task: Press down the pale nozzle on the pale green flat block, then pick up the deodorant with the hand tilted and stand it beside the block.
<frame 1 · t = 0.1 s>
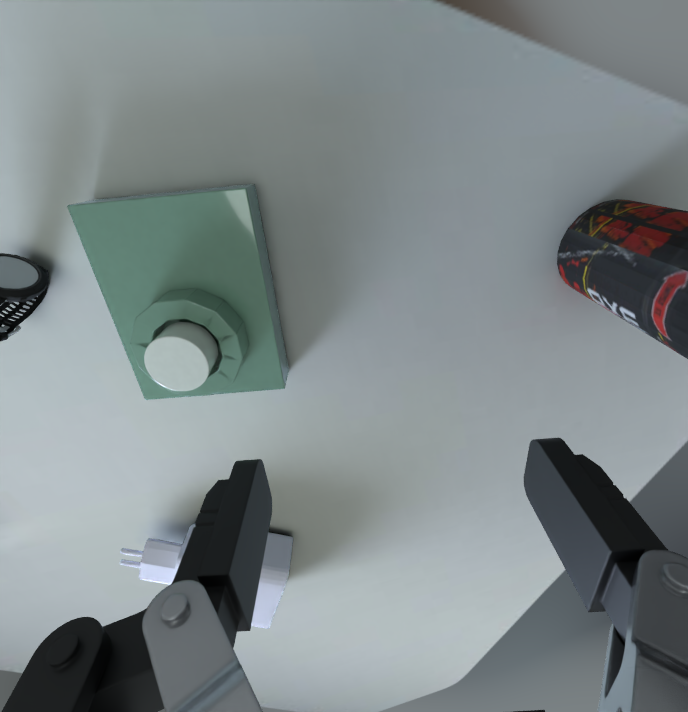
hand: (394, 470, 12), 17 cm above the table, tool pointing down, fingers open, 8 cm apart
smartwatch: (32, 279, 26), on the table
deodorant: (602, 247, 25), on the table
pump nozzle: (182, 356, 23), point 5 cm above the table, slide at 0.1 cm
charger: (211, 545, 39), on the table
pale green flat block: (201, 294, 26), on the table
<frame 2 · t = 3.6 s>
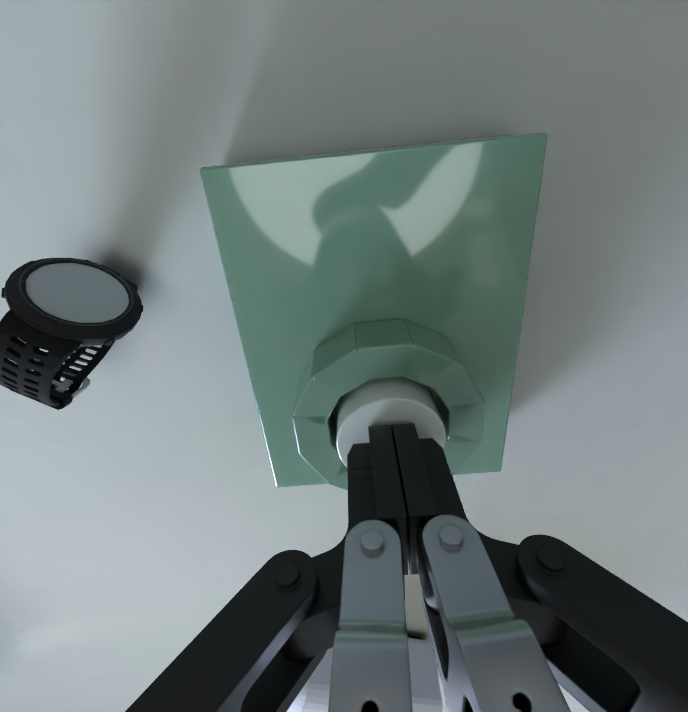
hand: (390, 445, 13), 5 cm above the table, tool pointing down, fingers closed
smartwatch: (105, 299, 16), on the table
pump nozzle: (387, 424, 14), point 4 cm above the table, slide at -0.8 cm, touching gripper
charger: (313, 646, 29), on the table
pale green flat block: (375, 323, 16), on the table
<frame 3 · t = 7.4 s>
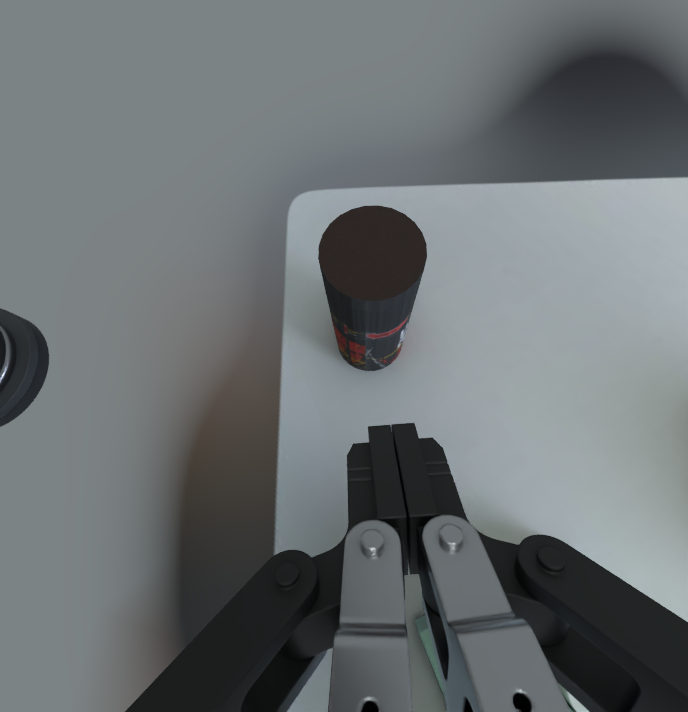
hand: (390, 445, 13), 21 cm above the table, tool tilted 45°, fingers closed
deodorant: (369, 340, 36), on the table
pump nozzle: (588, 679, 24), point 5 cm above the table, slide at 0.1 cm
pale green flat block: (525, 655, 28), on the table
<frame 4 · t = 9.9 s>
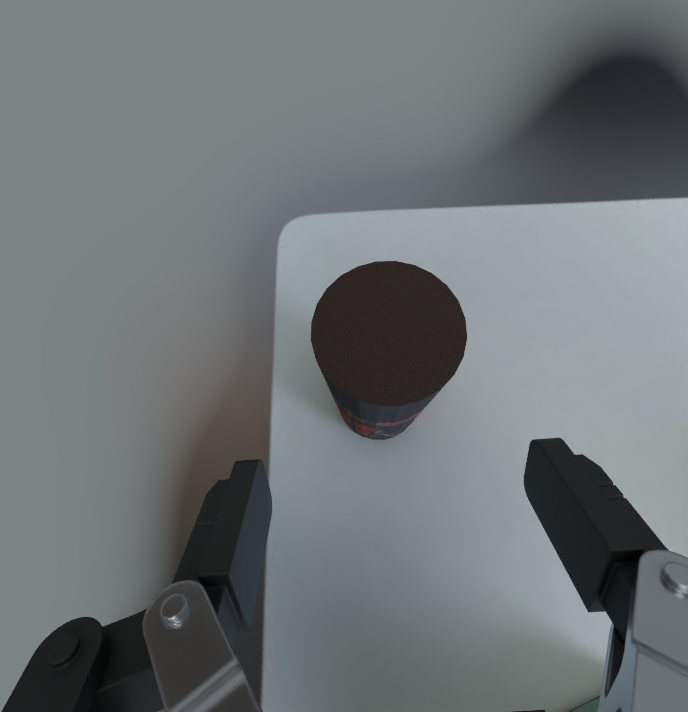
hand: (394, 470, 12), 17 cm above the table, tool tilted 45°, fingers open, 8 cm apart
deodorant: (377, 400, 29), on the table
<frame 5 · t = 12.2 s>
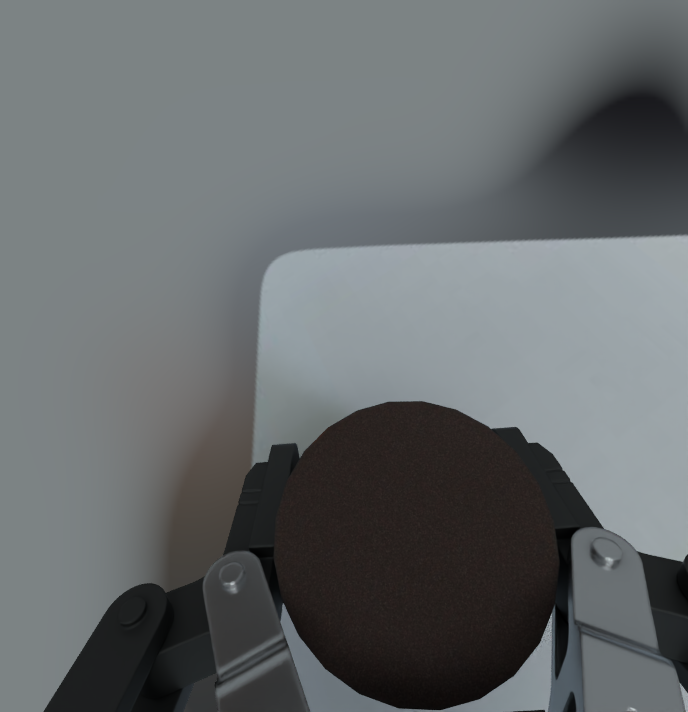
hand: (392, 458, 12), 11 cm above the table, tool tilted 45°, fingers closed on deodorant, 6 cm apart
deodorant: (387, 497, 23), on the table, touching gripper
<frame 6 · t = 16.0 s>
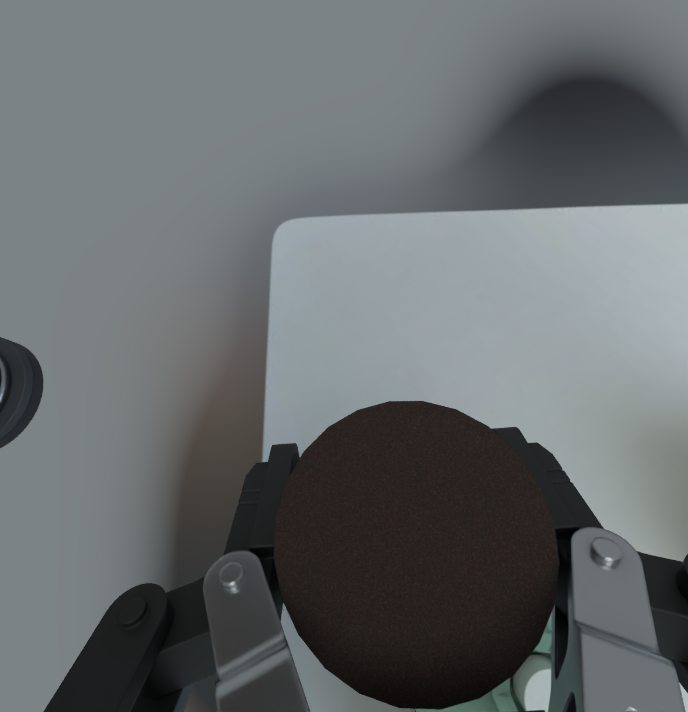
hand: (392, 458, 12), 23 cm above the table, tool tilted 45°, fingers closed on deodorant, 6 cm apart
deodorant: (387, 496, 23), point 12 cm above the table, touching gripper
pump nozzle: (546, 694, 25), point 5 cm above the table, slide at 0.1 cm
pale green flat block: (494, 668, 30), on the table
when the fingers open (11 cm above the table, at t = 19.9 s): deodorant stays where it is, on the table.
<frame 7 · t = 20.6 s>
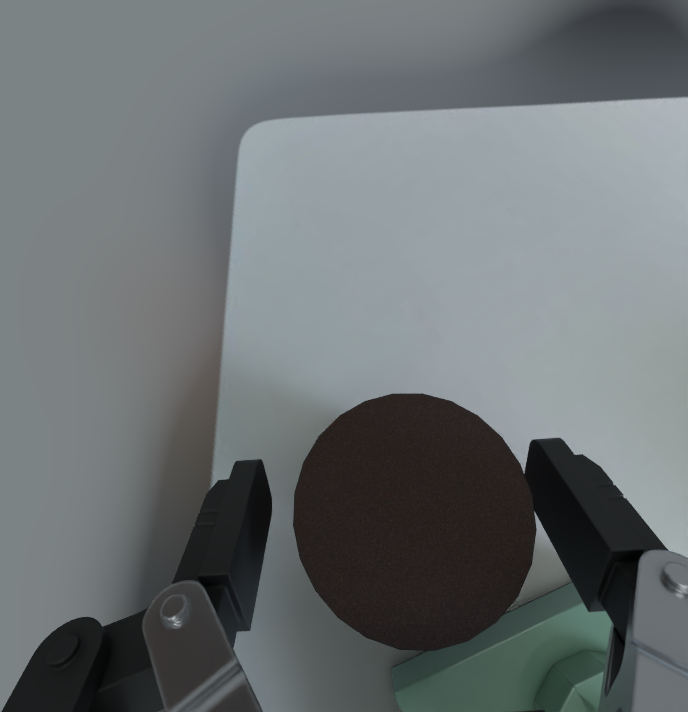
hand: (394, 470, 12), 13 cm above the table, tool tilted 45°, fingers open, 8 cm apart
deodorant: (385, 487, 24), on the table
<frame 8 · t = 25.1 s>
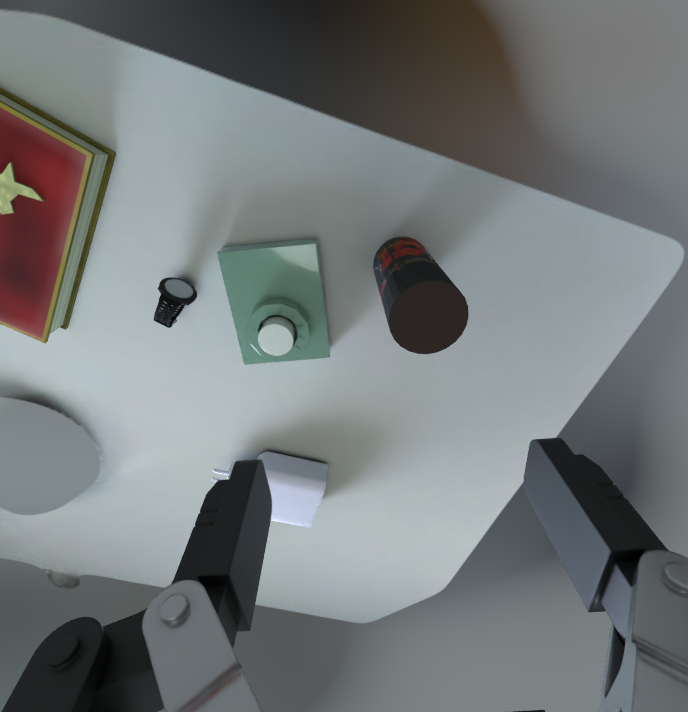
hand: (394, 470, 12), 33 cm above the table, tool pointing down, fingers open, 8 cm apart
smartwatch: (180, 291, 44), on the table
deodorant: (400, 264, 42), on the table
pump nozzle: (277, 336, 41), point 5 cm above the table, slide at 0.1 cm
charger: (269, 471, 57), on the table
hardcover book: (30, 219, 40), on the table
pale green flat block: (280, 300, 44), on the table
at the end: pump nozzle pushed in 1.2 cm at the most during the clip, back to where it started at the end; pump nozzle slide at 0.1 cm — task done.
